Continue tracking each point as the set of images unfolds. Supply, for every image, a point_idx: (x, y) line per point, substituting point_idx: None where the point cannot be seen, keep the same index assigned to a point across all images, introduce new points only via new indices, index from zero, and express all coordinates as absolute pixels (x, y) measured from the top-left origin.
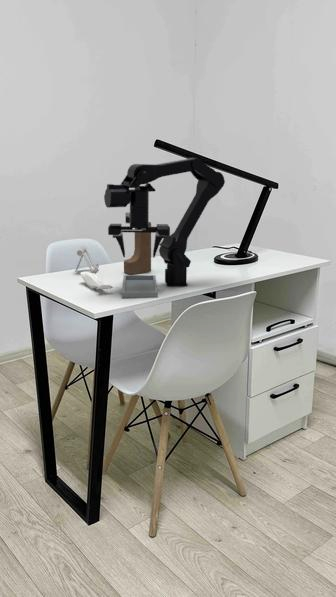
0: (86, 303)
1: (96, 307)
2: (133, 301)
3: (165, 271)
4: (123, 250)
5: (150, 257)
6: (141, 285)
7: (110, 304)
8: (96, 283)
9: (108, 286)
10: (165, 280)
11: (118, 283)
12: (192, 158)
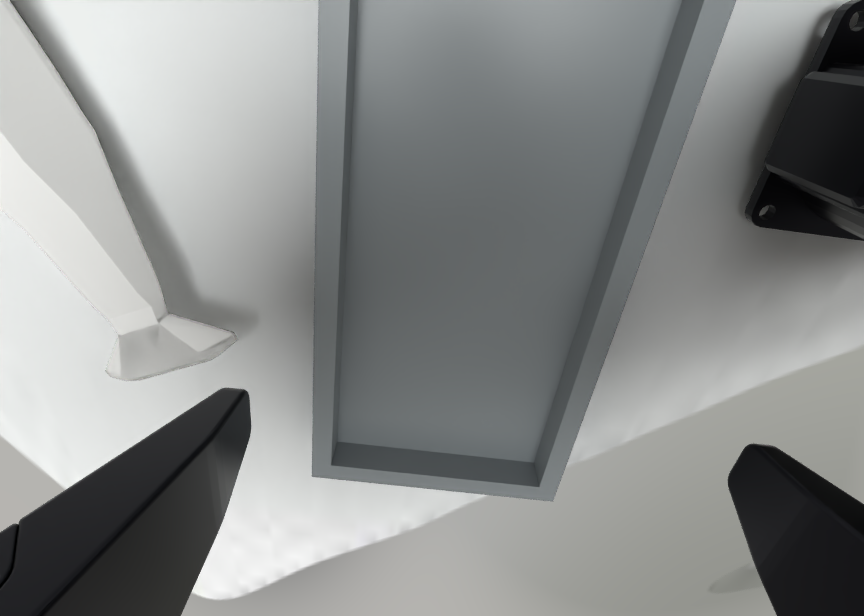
0: None
1: None
2: (390, 488)
3: (848, 199)
4: (176, 581)
5: None
6: (508, 160)
7: (259, 516)
8: (62, 272)
9: (195, 364)
10: (778, 169)
11: None
12: None
